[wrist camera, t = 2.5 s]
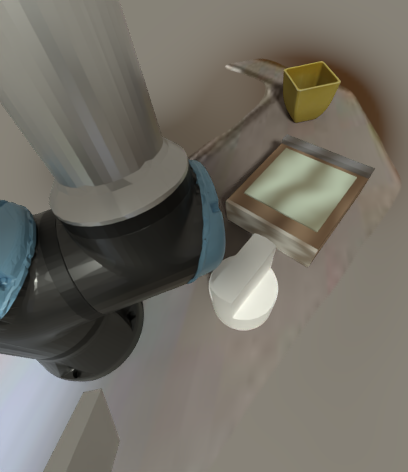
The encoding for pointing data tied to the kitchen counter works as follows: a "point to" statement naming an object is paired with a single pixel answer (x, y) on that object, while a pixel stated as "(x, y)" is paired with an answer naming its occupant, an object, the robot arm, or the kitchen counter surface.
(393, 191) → the kitchen counter surface
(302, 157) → the dock
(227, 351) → the kitchen counter surface
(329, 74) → the flower pot
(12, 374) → the kitchen counter surface
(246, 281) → the cylinder with rectangular tab
